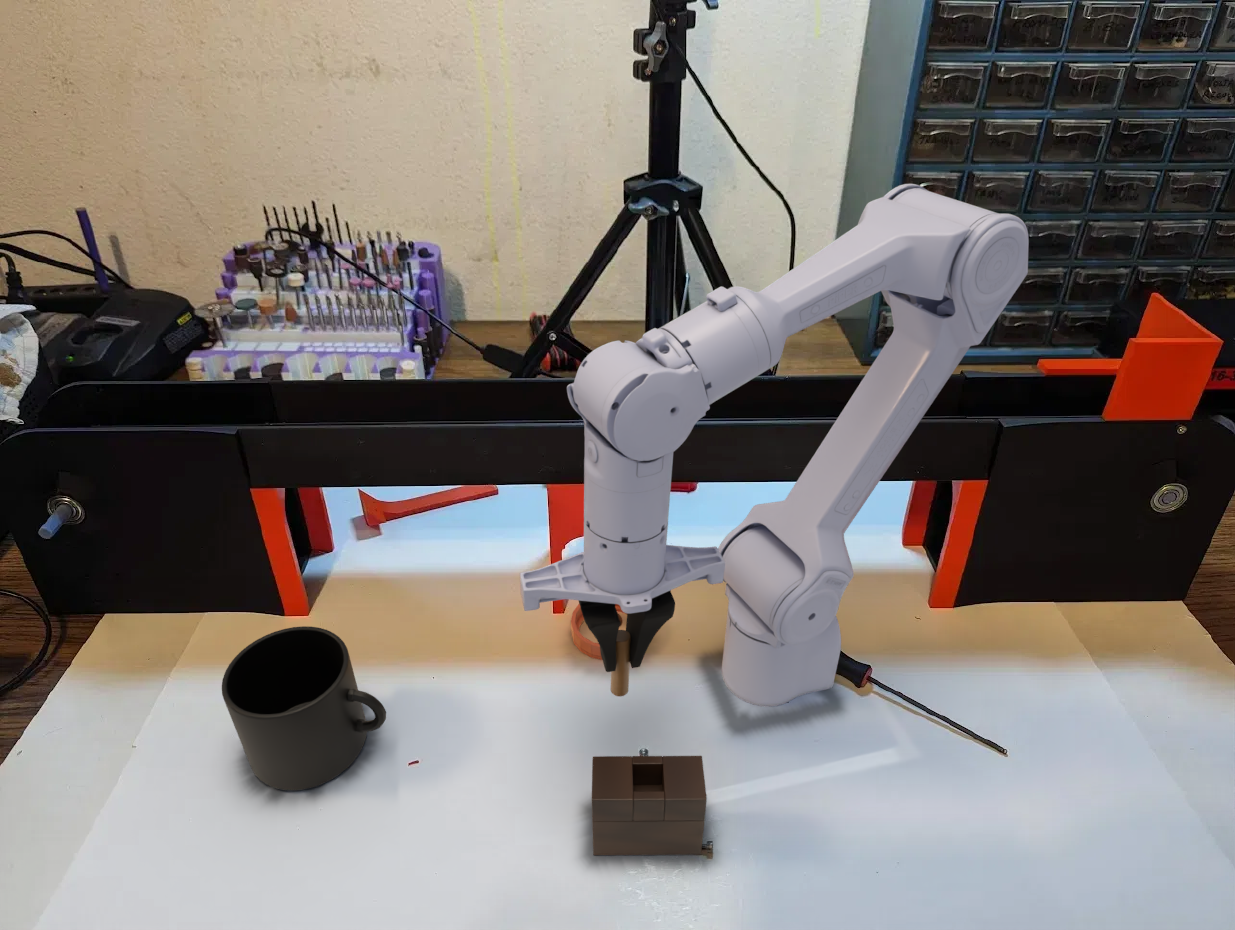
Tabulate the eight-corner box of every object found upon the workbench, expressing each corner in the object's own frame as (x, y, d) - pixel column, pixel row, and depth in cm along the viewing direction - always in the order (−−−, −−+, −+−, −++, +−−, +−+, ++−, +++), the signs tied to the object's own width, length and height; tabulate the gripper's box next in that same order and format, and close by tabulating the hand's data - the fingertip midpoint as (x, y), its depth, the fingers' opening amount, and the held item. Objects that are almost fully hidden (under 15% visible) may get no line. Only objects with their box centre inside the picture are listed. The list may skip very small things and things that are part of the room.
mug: (374, 801, 63) (353, 726, 58) (228, 787, 64) (196, 712, 59) (412, 706, 71) (396, 632, 66) (281, 694, 72) (257, 621, 67)
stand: (696, 810, 63) (702, 755, 59) (701, 855, 60) (706, 799, 56) (594, 811, 63) (592, 756, 59) (593, 855, 60) (591, 800, 56)
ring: (635, 609, 81) (636, 587, 80) (656, 662, 75) (657, 639, 74) (565, 622, 80) (564, 599, 78) (581, 677, 74) (580, 654, 72)
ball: (614, 615, 80) (613, 605, 78) (626, 626, 79) (625, 616, 77) (600, 626, 79) (599, 616, 77) (613, 637, 78) (612, 627, 76)
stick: (627, 682, 64) (629, 628, 61) (629, 696, 63) (631, 641, 60) (609, 684, 64) (610, 630, 61) (611, 697, 63) (613, 642, 60)
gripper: (528, 568, 50) (534, 717, 57) (748, 539, 53) (727, 683, 60) (513, 503, 55) (520, 646, 63) (712, 480, 59) (697, 618, 66)
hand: (620, 660), depth 62 cm, fingers closed on stick, 1 cm apart
